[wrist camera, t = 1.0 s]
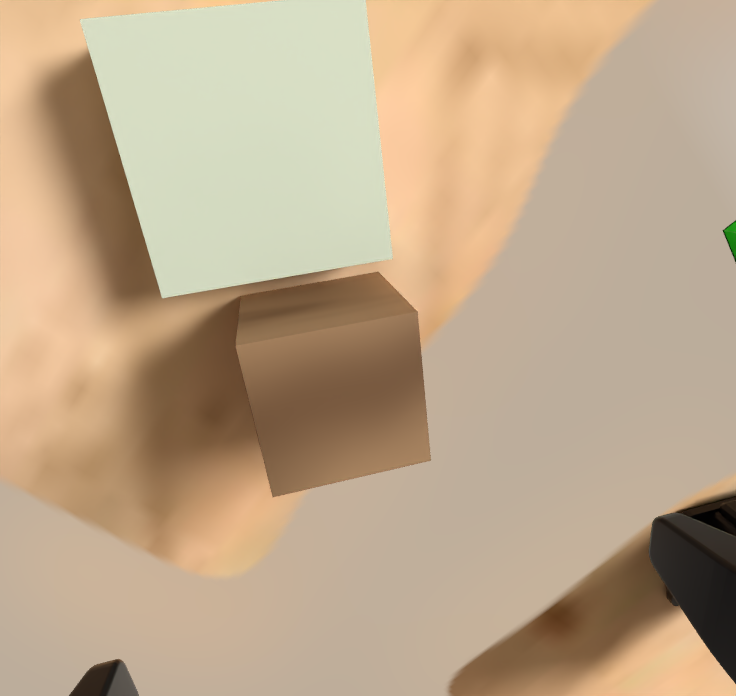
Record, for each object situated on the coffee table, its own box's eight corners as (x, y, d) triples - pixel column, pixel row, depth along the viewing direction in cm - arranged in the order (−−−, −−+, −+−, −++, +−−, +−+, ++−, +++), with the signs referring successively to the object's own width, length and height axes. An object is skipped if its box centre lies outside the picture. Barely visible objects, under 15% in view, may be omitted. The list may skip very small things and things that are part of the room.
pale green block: (375, 245, 18) (392, 258, 16) (174, 278, 17) (162, 298, 15) (348, 16, 15) (364, -8, 13) (107, 40, 14) (79, 19, 12)
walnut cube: (392, 391, 20) (430, 460, 16) (269, 416, 20) (272, 496, 15) (377, 271, 18) (417, 311, 14) (240, 295, 18) (235, 346, 13)
